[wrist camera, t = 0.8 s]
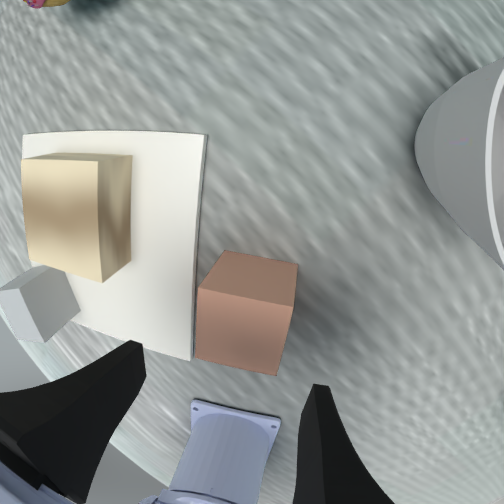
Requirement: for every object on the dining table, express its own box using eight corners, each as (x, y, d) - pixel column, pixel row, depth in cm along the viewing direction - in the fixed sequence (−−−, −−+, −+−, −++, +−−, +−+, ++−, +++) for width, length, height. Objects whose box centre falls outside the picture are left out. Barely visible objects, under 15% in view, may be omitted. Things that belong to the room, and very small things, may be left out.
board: (192, 356, 22) (190, 361, 22) (44, 304, 24) (40, 307, 24) (207, 134, 16) (204, 134, 16) (28, 134, 18) (22, 134, 17)
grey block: (80, 310, 22) (45, 343, 18) (51, 311, 23) (17, 339, 19) (60, 261, 21) (18, 288, 16) (32, 267, 22) (-6, 291, 17)
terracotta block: (284, 324, 20) (276, 376, 15) (219, 310, 20) (195, 357, 16) (298, 263, 18) (293, 307, 14) (224, 249, 19) (197, 287, 14)
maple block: (131, 260, 19) (102, 283, 16) (59, 242, 20) (29, 259, 17) (132, 155, 17) (97, 161, 13) (56, 152, 17) (21, 159, 14)
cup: (443, 243, 16) (533, 338, 7) (359, 141, 15) (430, 147, 6) (518, 161, 13) (628, 197, 4) (445, 57, 12) (550, 9, 3)
